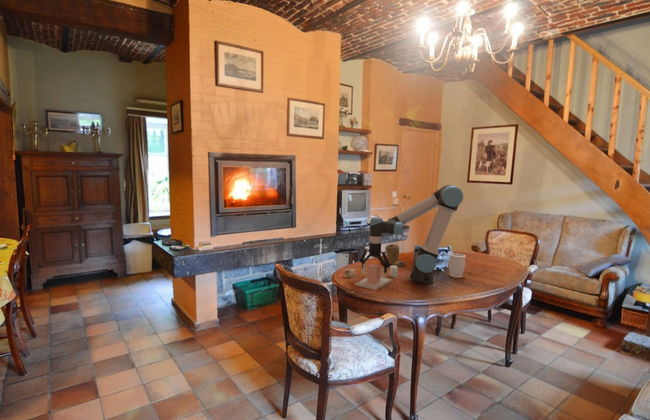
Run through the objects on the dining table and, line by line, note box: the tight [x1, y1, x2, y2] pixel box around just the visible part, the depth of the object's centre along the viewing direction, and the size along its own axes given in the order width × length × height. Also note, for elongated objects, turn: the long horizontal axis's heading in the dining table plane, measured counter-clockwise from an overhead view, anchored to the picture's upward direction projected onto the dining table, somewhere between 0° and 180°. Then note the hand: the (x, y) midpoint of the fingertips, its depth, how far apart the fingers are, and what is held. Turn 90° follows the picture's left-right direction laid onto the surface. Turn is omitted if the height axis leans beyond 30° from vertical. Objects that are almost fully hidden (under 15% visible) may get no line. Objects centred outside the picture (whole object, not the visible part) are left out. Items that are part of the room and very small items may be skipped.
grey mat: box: [354, 276, 392, 291], centre depth 228 cm, size 14×22×1 cm, turn 145°
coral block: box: [366, 263, 382, 284], centre depth 227 cm, size 6×6×10 cm
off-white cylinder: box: [389, 264, 399, 279], centre depth 242 cm, size 5×5×7 cm
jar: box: [448, 252, 467, 279], centre depth 247 cm, size 11×10×15 cm
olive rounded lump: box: [343, 268, 356, 279], centre depth 238 cm, size 5×5×5 cm
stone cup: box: [385, 243, 408, 267], centre depth 271 cm, size 15×12×15 cm
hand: (373, 275), depth 227 cm, fingers open, 13 cm apart
